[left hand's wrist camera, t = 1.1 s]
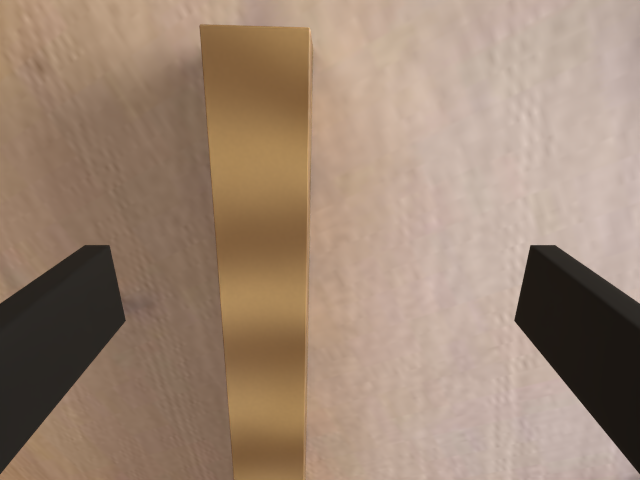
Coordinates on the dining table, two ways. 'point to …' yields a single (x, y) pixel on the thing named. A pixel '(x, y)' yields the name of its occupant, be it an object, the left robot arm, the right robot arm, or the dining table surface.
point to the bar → (262, 236)
